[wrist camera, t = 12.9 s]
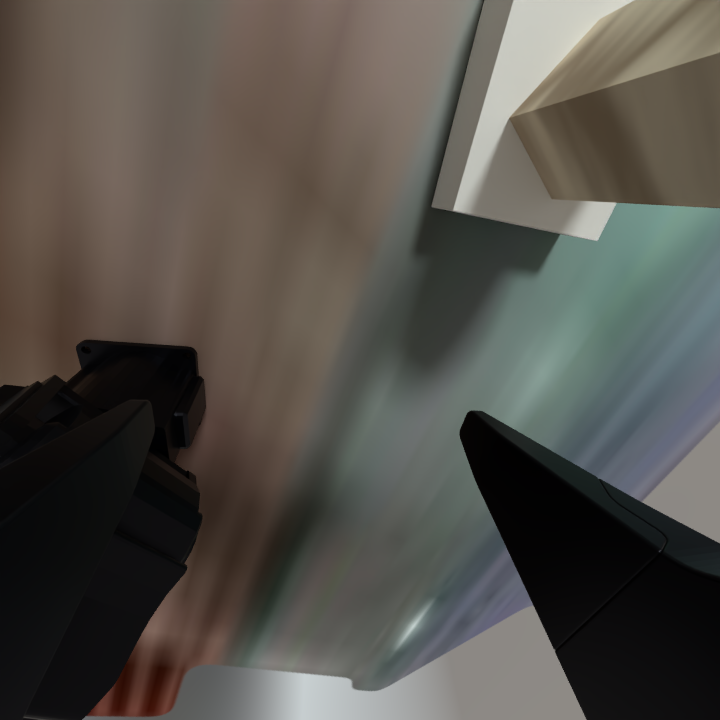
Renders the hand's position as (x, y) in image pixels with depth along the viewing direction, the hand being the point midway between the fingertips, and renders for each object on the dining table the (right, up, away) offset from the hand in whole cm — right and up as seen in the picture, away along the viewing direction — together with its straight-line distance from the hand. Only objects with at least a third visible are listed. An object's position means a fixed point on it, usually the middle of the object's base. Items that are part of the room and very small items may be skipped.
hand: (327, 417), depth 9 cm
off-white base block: (+11, +15, +9) cm, 21 cm away
